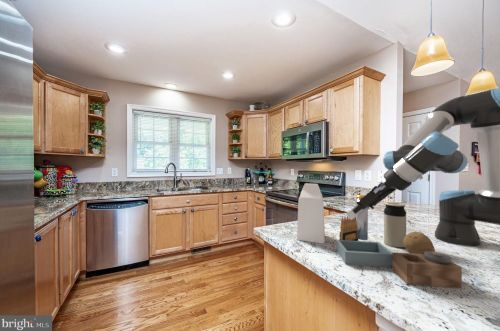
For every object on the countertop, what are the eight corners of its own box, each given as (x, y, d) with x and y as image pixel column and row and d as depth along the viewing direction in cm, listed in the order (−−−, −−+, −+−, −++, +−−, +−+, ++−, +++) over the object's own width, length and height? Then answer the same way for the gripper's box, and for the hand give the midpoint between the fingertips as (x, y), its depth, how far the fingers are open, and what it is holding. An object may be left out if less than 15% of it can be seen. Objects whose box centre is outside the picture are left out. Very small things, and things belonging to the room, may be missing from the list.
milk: (296, 239, 97) (296, 184, 98) (300, 232, 108) (300, 182, 108) (323, 243, 93) (323, 185, 93) (325, 235, 104) (324, 183, 104)
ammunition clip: (342, 245, 91) (342, 217, 91) (339, 243, 92) (339, 216, 92) (358, 240, 96) (358, 214, 96) (354, 239, 97) (354, 214, 98)
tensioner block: (440, 273, 66) (440, 248, 66) (461, 288, 58) (461, 259, 58) (392, 270, 68) (392, 246, 69) (406, 284, 61) (406, 256, 61)
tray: (378, 252, 83) (378, 242, 83) (395, 267, 71) (395, 254, 71) (336, 250, 85) (336, 239, 85) (345, 264, 73) (345, 251, 73)
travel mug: (382, 244, 91) (382, 203, 91) (386, 240, 97) (385, 201, 97) (404, 249, 86) (404, 206, 86) (407, 244, 91) (407, 203, 92)
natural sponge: (401, 251, 83) (401, 227, 83) (430, 256, 79) (430, 230, 79) (404, 260, 76) (404, 233, 76) (437, 266, 71) (437, 237, 71)
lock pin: (365, 237, 79) (365, 195, 79) (369, 240, 75) (369, 196, 76) (355, 236, 80) (355, 194, 80) (358, 239, 76) (358, 196, 76)
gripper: (402, 184, 60) (347, 228, 74) (420, 182, 70) (369, 221, 84) (382, 166, 65) (333, 210, 78) (402, 166, 75) (355, 205, 88)
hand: (352, 215), depth 81 cm, fingers closed on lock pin, 3 cm apart
